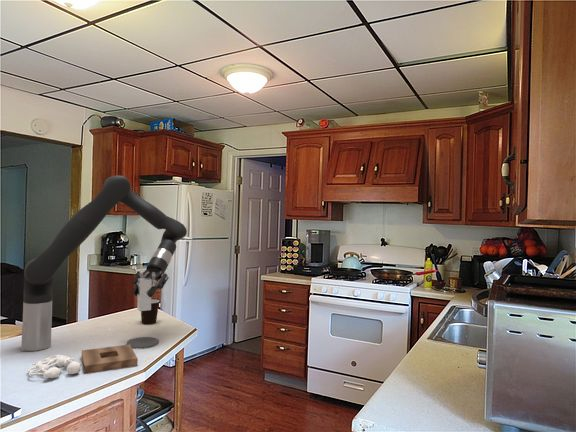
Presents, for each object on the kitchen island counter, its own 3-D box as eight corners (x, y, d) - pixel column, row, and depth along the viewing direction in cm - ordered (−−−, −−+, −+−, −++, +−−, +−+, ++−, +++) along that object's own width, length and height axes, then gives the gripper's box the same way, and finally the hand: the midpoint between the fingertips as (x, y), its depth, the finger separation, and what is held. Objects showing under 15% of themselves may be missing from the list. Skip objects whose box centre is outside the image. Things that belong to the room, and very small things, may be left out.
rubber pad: (129, 350, 151) (129, 348, 151) (124, 341, 161) (124, 339, 161) (161, 346, 157) (161, 344, 157) (155, 337, 167) (155, 335, 167)
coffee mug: (154, 325, 184) (155, 303, 184) (136, 324, 185) (136, 303, 185) (163, 319, 196) (163, 298, 196) (145, 318, 196) (146, 297, 196)
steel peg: (139, 311, 156) (139, 280, 156) (137, 308, 160) (137, 278, 159) (150, 310, 158) (151, 279, 158) (148, 307, 162) (149, 277, 162)
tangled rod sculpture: (23, 369, 134) (22, 356, 133) (71, 357, 143) (71, 345, 143) (32, 388, 119) (31, 374, 118) (85, 373, 128) (84, 360, 128)
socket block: (84, 373, 128) (84, 365, 128) (81, 357, 142) (81, 350, 142) (137, 365, 136) (137, 358, 136) (129, 351, 150) (129, 344, 150)
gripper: (141, 255, 168) (121, 288, 156) (171, 257, 164) (154, 291, 153) (148, 266, 173) (130, 299, 161) (178, 268, 169) (161, 302, 158)
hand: (141, 295), depth 157 cm, fingers closed on steel peg, 6 cm apart
